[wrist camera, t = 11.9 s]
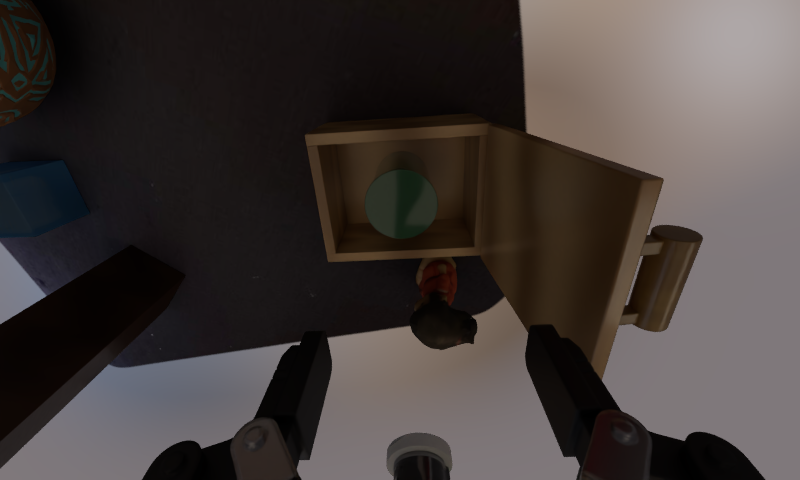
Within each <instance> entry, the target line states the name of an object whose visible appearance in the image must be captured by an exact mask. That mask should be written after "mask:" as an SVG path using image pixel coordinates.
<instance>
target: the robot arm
mask: <svg viewBox="0 0 800 480" xmlns="http://www.w3.org/2000/svg"><path fill="white" fill-rule="evenodd" d="M525 359H526V366H527V369H528V372H529V374H530V377H531V379H532V381H533V384H534V386H535V389H536V391H537V394H538V396H539V398H540V401H541V403H542V406H543V408H544V410H545V413H546V415H547V417H548V420H549V422H550V425H551V427H552V429H553V432H554V434H555V437H556V439H557V442H558V444H559V446H560V449H561V451H562V453H563V456H564V457H576V458H577V460H578V462H579V465H580V468H579V472H578V475H577V479H576V480H765V479H764V477H763V476H762V475H761V474H760V473H759V471H758V470H757V469H756V468H755V467H754V466H753V464H752V463H751V462H750V461H749V460H748V458H747V457H746V456H745V455H744V454H743V453H742V452H741V451H740V450H739V449H737V448H736V447H735V446H733V445H732V444H730V443H729V442H727V441H726V440H724V439H722V438H720V437H718V436H715V435H712V434H710V433H705V432H694V433H691V434H689V435H688V436H687V438H686V440H685V441H682V440H678V439H674V438H671V437H667V436H663V435H659V434H656V433H653V432H650V431H648V430H647V429H646V428H645V427H644V426H643V425H642V424H641V423H640V422H639V421H638V420H636V419H635V418H634V417H632V416H630V415H629V414H627V413H624V412H622V411H621V410H620V408H619V407H618V405H617V404H616V402H615V400H614V399H613V398H612V396H611V394H610V393H609V391H608V390H607V388H606V387H605V385H604V384H603V382H602V380H601V379H600V377H599V376H598V374H597V373H596V372H595V371H594V368H593V367H592V365H591V363H590V362H588V359H587V357H586V356H585V354H584V353H583V351H582V350H581V348H580V347H579V346H578V345H576V344H575V343H574V342H573V341H572V340H570V339H569V338H561V337H560V336H559V334H558V332H557V331H556V329H555V327H554V326H553V325H552V324H538V325H530V328H529V333H528V340H527V346H526V352H525ZM331 371H332V359H331V354H330V349H329V344H328V339H327V335H326V332H325V331H306V332H305V333H304V335H303V338H302V340H301V343H300V345H292V346H291V347H290V348H289V349H288V350H287V351H286V352H285V353H284V354H283V356H282V357H281V359H280V361H279V364H278V366H277V370H275V373H274V375H273V379H272V380H271V382H270V384H269V386H268V388H267V391H266V393H265V395H264V398H263V400H262V402H261V404H260V407H259V409H258V411H257V413H256V415H255V417H254V419H253V420H252V421H250V422H248V423H247V424H245V425H244V426H243V427H242V428H241V429H240V430H239V431H238V432H237V433H236V435H235V436H234V438H232V439H229V440H227V441H224V442H221V443H218V444H215V445H212V446H209V447H206V448H203V449H201V447H200V445H199V444H198V443H197V442H195V441H182V442H179V443H176V444H174V445H172V446H171V447H169V448H167V449H166V450H165V451H163V452H162V453H161V454H160V455H159V456H158V457H157V458H156V459H155V460H154V461H153V463H152V464H151V466H150V467H149V469H148V470H147V472H146V474H145V475H144V477H143V479H142V480H301V478H300V477H299V475H298V472H297V466H298V463H299V460H310V455H311V452H312V448H313V444H314V439H315V436H316V432H317V428H318V424H319V420H320V416H321V412H322V408H323V404H324V400H325V396H326V392H327V388H328V384H329V380H330V376H331ZM393 471H394V480H450V474H449V467H447V466H446V465H445V462H444V460H443V459H442V458H441V457H440V456H438V455H437V454H435V453H432V452H428V451H411V452H407V453H404V454H402V455H400V456H399V457H398V458H397V459H396V460H395V462H394V468H393Z"/></svg>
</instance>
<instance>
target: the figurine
mask: <svg viewBox="0 0 800 480" xmlns="http://www.w3.org/2000/svg"><path fill="white" fill-rule="evenodd" d="M455 269H456V264H455V262H454V260H453V259H452V257H430V258H423V259H422V261H421V263H420V266H419V268H418V271H417V275H416V284H417V285H418V286H419V292H420V294H421V295H422V296H423V298H422V299H420V300H419V301H417V302H416V304H415V307H414V310H415V312H414V313H413V315H412V316H411V318H410V326H411V329H412V332H413V333H414V335H415V336H416V337H417V338H418V339H419V340H420V341H421V342H422V343H423V344H424V345H426V346H428V347H430V348H433V349H440V350H444V349H447V348H450V347H453V346H457V345H460V344H464V343H471V344H474V336H475V334H476V333H477V322H476V320H475V319H474V318H473V317H472V316H471V315H469V314H468V313H467V312H465V311H459V310H455V309H452V308H451V307H450V305H451V303H452V301H453V300H454V294H455V292H456V287H457V275H456V270H455ZM471 318H472V319H471Z"/></svg>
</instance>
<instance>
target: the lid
mask: <svg viewBox="0 0 800 480" xmlns="http://www.w3.org/2000/svg"><path fill="white" fill-rule="evenodd" d="M663 181H664V180H663V178H661V177H658V176H654V175H651V174H649V173H645V172H642V171H639V170H636V169H633V168H630V167H627V166H624V165H621V164H618V163H615V162H612V161H609V160H606V159H603V158H600V157H597V156H594V155H591V154H588V153H585V152H582V151H579V150H576V149H573V148H570V147H567V146H564V145H561V144H558V143H555V142H552V141H549V140H546V139H542V138H540V137H537V136H534V135H531V134H528V133H525V132H522V131H519V130H516V129H513V128H510V127H507V126H504V125H501V124H489V126H488V143H487V160H486V178H485V195H484V212H483V229H482V246H481V259H482V260H483V262H484V264H485V265H486V267H487V268H488V270H489V272H490V273H491V275H492V276H493V278H494V279H495V281H496V283H497V284H498V286H499V287H500V289H501V290H502V292H503V294H504V295H505V297H506V298H507V300H508V302H509V303H510V305H511V306H512V308H513V309H514V311H515V313H516V314H517V316H518V317H519V319H520V320H521V322H522V324H523V325H524V327H525V328H526V330H527V332H528V333H529V328H530V325H538V324H552V325H553V326H554V327H555V329H556V331H557V332H558V334H559V336H560V337H561V338H569V339H570V340H572V341H573V342H574V343H575V344H576V345H578V346H579V347H580V348H581V350H582V351H583V353H584V354H585V356H586V357H587V359H588V362H590V363H591V365H592V367H593V368H594V371H595V372H596V373H597V374H598V376H599V377H600V379H601V380H602V377H603V374H604V371H605V368H606V365H607V361H608V358H609V355H610V352H611V349H612V345H613V342H614V338H615V336H616V332H617V329H618V326H619V325H626V324H633V325H635V326H637V327H639V328H641V329H644V330H647V331H653V332H661V331H664V330H666V329H667V328H668V325H669V323H670V320H671V318H672V315H673V313H674V310H675V308H676V305H677V303H678V300H679V298H680V295H681V293H682V290H683V288H684V285H685V283H686V280H687V278H688V275H689V273H690V270H691V268H692V265H693V263H694V260H695V258H696V255H697V253H698V250H699V247H700V245H701V243H702V240H703V237H702V235H700V234H699V233H698V232H696V231H693V230H691V229H688V228H684V227H680V226H673V225H659V226H655V227H653V228H652V230H651V233H650V235H647V233H648V229H649V226H650V223H651V220H652V216H653V213H654V210H655V207H656V204H657V200H658V197H659V194H660V191H661V187H662V184H663ZM640 256H643V259H642V262H641V265H640V268H639V271H638V274H637V278H636V281H635V284H634V287H633V290H632V293H631V297H630V300H629V303H628V305H625V303H626V300H627V297H628V294H629V291H630V287H631V284H632V281H633V278H634V274H635V271H636V268H637V265H638V262H639V258H640Z"/></svg>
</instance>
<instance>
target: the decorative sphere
mask: <svg viewBox="0 0 800 480" xmlns="http://www.w3.org/2000/svg"><path fill="white" fill-rule="evenodd" d="M55 73H56V54H55V48H54V44H53V40H52V38H51V35H50V33H49V30H48V28H47V25H46V24H45V22H44V20H43V17H42V16H41V14H40V12H39V11H38V9H37V8H36V7H35V5H34V4H33V2H32V1H31V0H0V127H1V126H5V125H6V124H8V123H11V122H14V121H16V120H18V119H20V118H22V117H24V116H26V115H27V114H29V113H31V112H32V111H33V110H34V109H36V108H37V107H38V106H39V105H40V104H41V103H42V101H43V100H44V98H45V97H46V96H47V94H48V93H49V91H50V89H51V87H52V85H53V82H54V77H55Z"/></svg>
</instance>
